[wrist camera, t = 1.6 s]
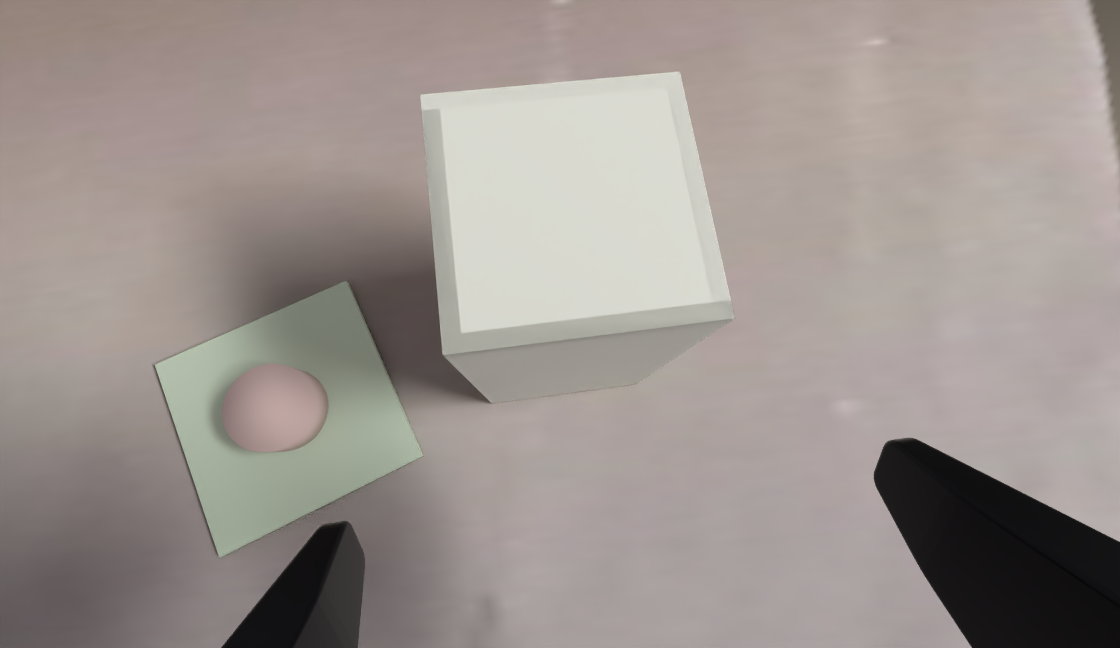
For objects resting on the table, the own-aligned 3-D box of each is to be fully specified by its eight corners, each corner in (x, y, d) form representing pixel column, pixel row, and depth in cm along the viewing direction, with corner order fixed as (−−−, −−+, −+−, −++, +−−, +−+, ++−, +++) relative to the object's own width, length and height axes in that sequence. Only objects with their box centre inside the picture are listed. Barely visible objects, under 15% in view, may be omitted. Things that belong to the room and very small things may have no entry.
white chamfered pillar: (636, 384, 21) (734, 318, 11) (491, 403, 21) (442, 355, 10) (613, 249, 23) (679, 71, 12) (477, 265, 22) (420, 94, 12)
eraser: (279, 469, 20) (259, 471, 18) (227, 410, 20) (203, 407, 19) (345, 409, 20) (330, 407, 19) (293, 353, 21) (275, 346, 19)
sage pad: (423, 456, 20) (421, 455, 20) (224, 556, 19) (219, 557, 19) (348, 282, 22) (346, 280, 21) (160, 365, 21) (154, 364, 20)
